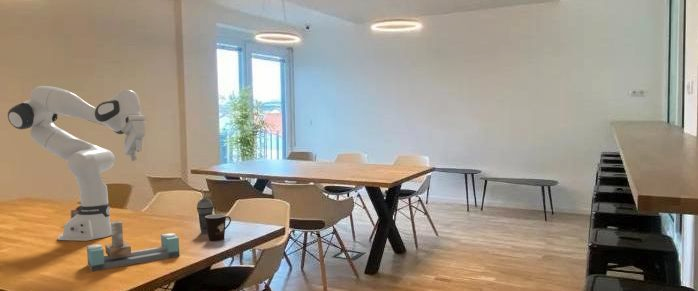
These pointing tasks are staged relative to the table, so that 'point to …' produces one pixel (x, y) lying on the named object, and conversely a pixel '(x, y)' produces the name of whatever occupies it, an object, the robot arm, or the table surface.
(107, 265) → the rail bed
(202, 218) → the beverage cup
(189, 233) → the table surface
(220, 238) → the coffee mug
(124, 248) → the carriage
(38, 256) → the table surface
